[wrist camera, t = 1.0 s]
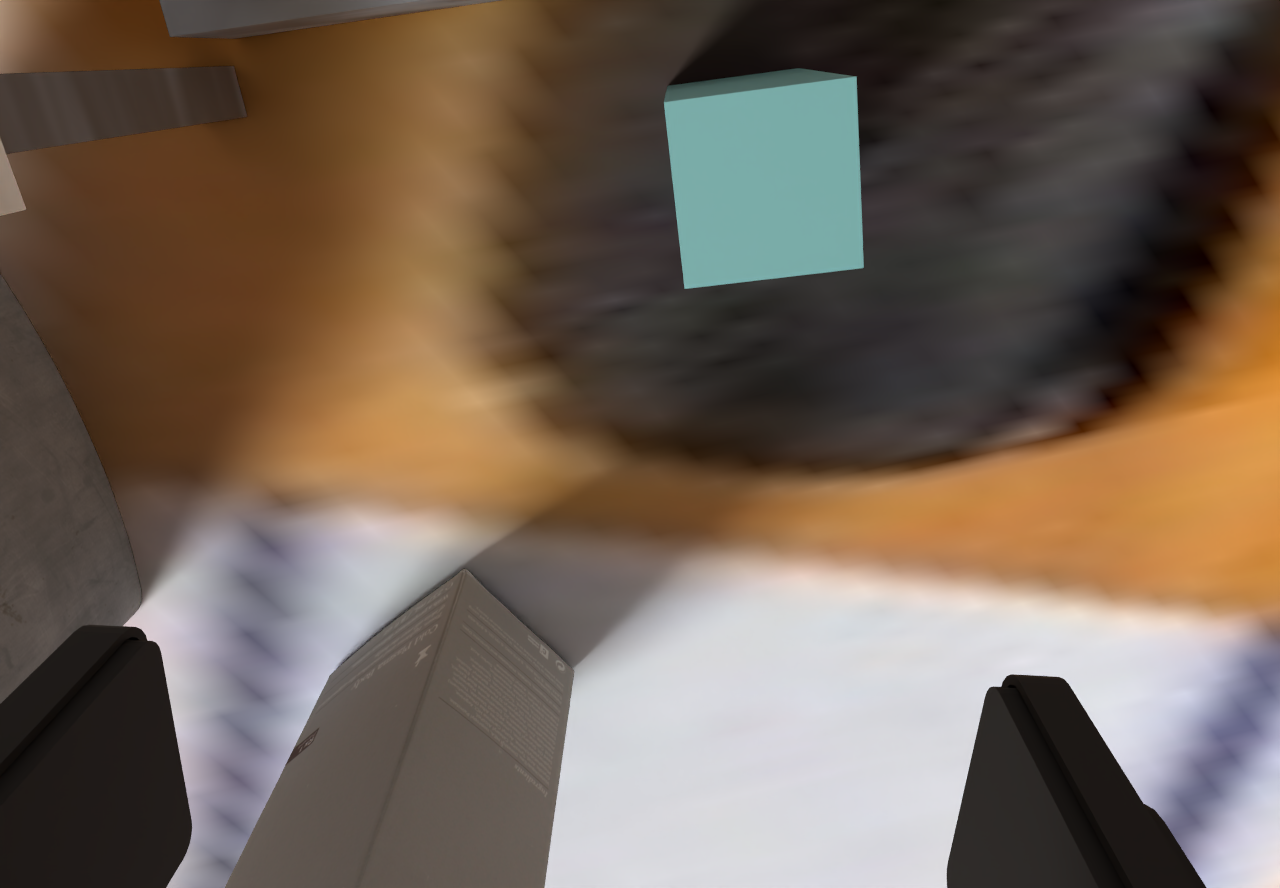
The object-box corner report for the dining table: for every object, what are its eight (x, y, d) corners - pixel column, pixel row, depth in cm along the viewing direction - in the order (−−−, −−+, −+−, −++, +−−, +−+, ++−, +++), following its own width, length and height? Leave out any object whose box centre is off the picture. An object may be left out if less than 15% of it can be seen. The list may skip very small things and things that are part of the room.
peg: (798, 68, 29) (856, 76, 20) (806, 201, 30) (863, 267, 21) (667, 85, 29) (664, 102, 20) (682, 217, 31) (684, 288, 21)
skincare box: (467, 559, 36) (323, 911, 21) (593, 680, 38) (539, 1080, 23) (318, 676, 38) (95, 1066, 23) (443, 785, 40) (309, 1208, 25)
